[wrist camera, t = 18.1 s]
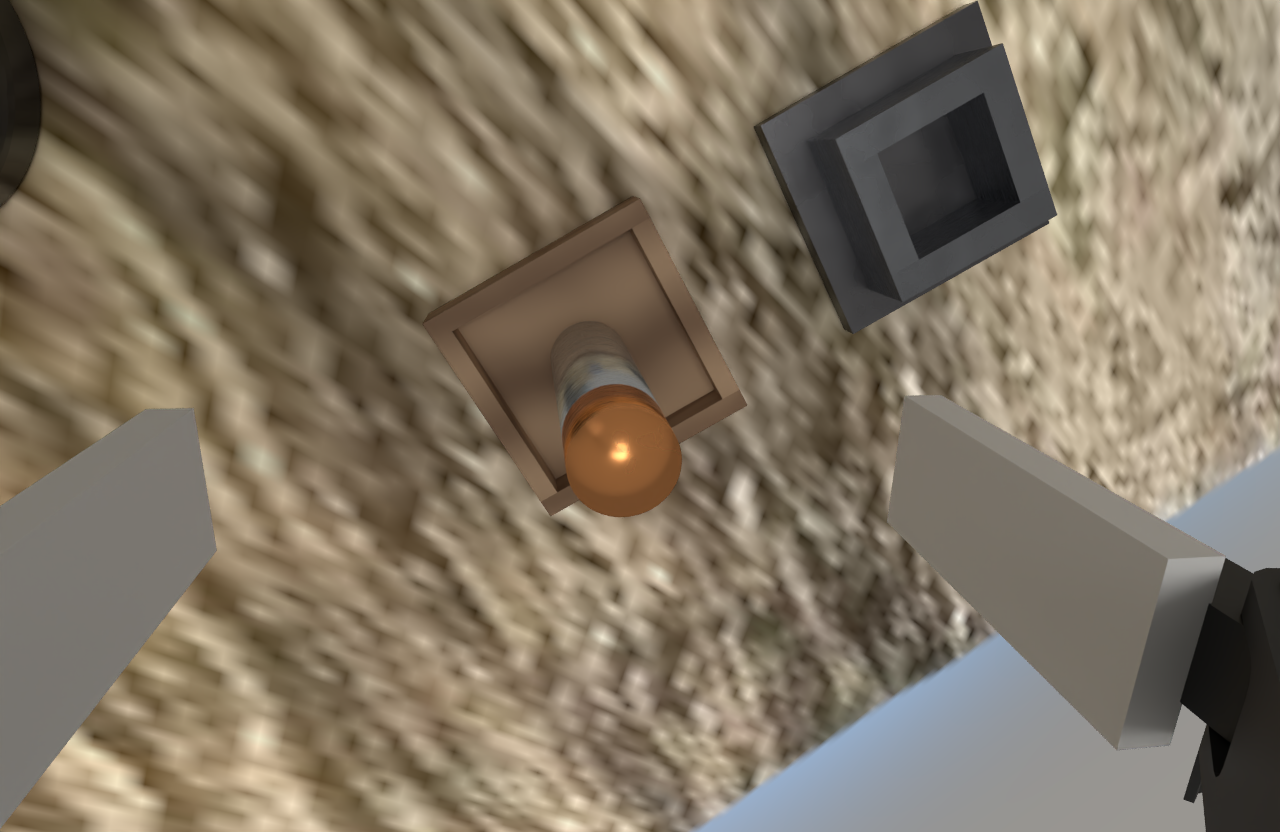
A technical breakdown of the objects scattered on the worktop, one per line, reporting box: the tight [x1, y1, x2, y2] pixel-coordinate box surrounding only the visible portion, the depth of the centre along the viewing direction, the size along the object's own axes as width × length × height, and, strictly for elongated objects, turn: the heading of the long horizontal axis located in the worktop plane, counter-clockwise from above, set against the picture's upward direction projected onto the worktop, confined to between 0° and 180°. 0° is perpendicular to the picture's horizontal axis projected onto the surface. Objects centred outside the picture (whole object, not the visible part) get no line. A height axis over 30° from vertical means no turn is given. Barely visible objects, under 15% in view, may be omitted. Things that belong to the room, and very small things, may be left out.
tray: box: [423, 196, 747, 516], centre depth 40 cm, size 12×12×3 cm
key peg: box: [551, 321, 682, 517], centre depth 33 cm, size 4×4×15 cm
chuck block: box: [754, 1, 1057, 334], centre depth 38 cm, size 12×12×5 cm
